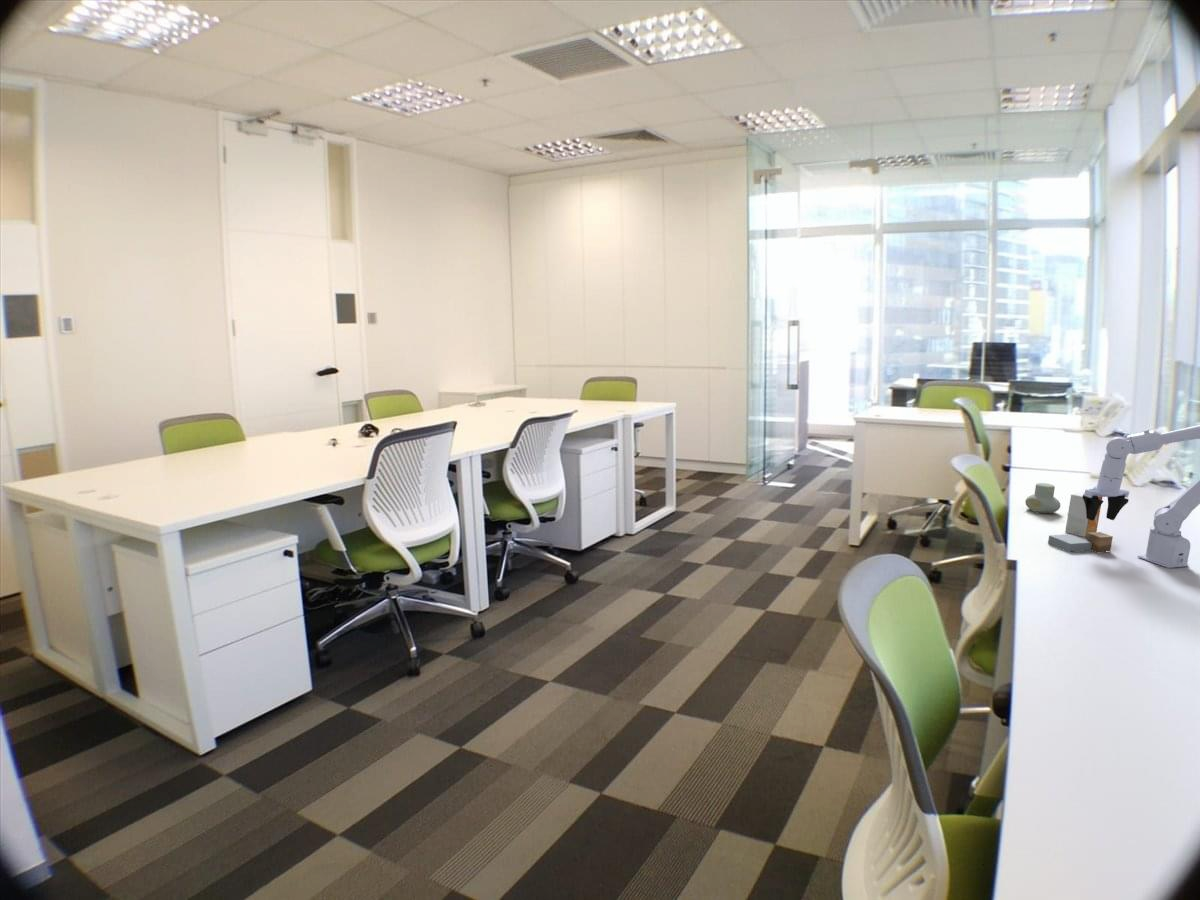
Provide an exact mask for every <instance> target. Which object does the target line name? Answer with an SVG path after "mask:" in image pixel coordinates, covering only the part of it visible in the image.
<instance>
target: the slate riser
mask: <svg viewBox="0 0 1200 900" xmlns="http://www.w3.org/2000/svg"><path fill="white" fill-rule="evenodd" d="M1047 544H1049V545H1051V546H1053V547H1056V548H1057V549H1060V548H1061V549H1060V550H1063V549H1064V551H1065V550H1066V552H1068V551H1069V552H1068V553H1072V552H1071V551H1077V552H1083V551H1082V550H1091V547H1092V542H1090V541H1087V539H1084V538H1081V537H1080V536H1077V535H1074V534H1070V533H1068V534H1067V533H1066V534H1055V535H1054V534H1052V535H1050V534H1049V535H1048V540H1047ZM1091 551H1092V550H1091Z"/></svg>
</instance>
